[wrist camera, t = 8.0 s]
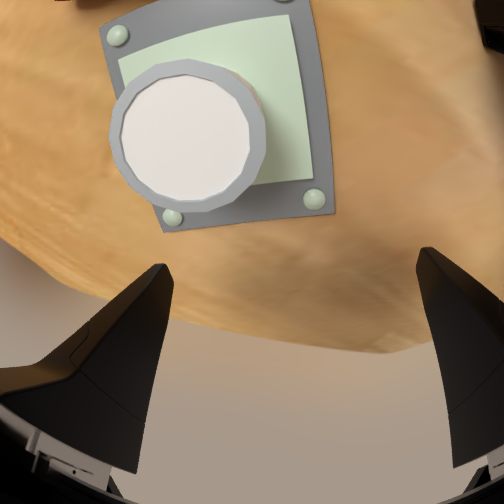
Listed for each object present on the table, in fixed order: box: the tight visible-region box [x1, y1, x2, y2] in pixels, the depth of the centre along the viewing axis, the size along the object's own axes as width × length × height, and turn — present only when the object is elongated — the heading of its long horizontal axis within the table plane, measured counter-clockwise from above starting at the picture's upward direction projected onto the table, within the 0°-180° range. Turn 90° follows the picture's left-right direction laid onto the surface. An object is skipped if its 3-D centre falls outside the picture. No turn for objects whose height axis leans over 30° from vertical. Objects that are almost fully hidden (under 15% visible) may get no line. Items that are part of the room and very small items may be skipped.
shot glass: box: [109, 58, 266, 213], centre depth 13 cm, size 7×7×7 cm
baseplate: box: [99, 0, 335, 233], centre depth 17 cm, size 14×18×2 cm
